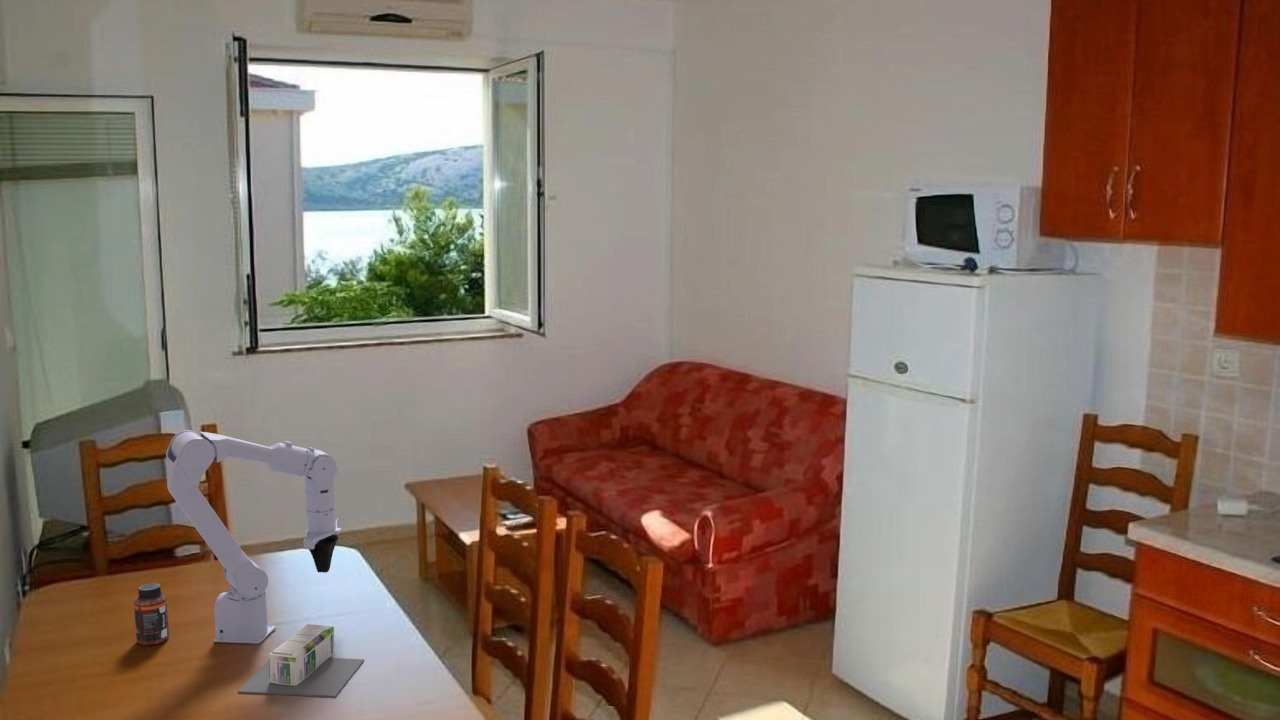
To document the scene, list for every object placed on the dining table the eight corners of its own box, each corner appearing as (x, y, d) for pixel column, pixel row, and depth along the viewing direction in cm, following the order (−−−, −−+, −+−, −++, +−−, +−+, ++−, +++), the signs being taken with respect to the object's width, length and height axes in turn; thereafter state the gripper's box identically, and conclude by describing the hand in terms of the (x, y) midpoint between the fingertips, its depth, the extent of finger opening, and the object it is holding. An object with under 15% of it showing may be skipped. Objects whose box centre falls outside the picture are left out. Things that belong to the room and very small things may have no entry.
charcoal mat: (237, 692, 191) (237, 691, 191) (273, 656, 206) (273, 655, 206) (335, 697, 189) (335, 695, 189) (364, 660, 204) (364, 659, 204)
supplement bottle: (174, 640, 213) (171, 586, 211) (144, 649, 209) (140, 594, 207) (161, 631, 217) (158, 578, 215) (131, 640, 213) (127, 586, 211)
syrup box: (335, 653, 207) (297, 687, 192) (307, 650, 208) (268, 684, 194) (334, 625, 206) (296, 657, 192) (306, 623, 207) (266, 654, 193)
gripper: (326, 519, 213) (329, 584, 215) (351, 499, 227) (354, 560, 229) (292, 518, 213) (295, 583, 216) (319, 498, 228) (322, 558, 230)
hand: (323, 571), depth 222 cm, fingers closed
